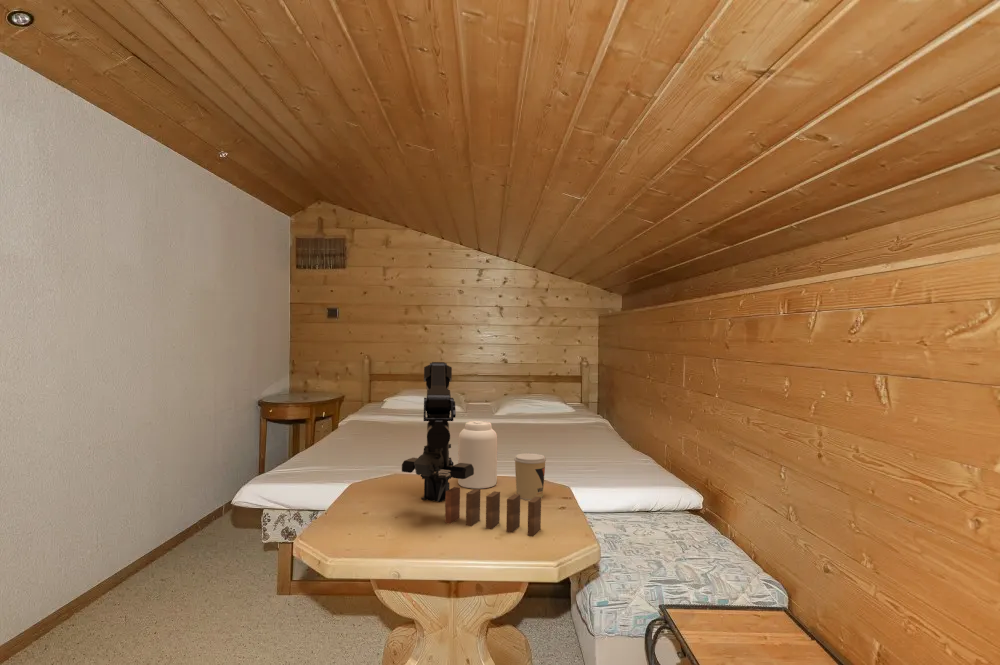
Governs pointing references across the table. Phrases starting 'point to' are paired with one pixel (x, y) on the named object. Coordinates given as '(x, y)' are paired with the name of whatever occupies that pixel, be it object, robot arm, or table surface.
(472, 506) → the domino
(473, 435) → the white lidded jar
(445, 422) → the robot arm
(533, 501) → the domino
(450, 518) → the domino
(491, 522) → the domino
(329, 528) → the table surface
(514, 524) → the domino
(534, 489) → the coffee cup
